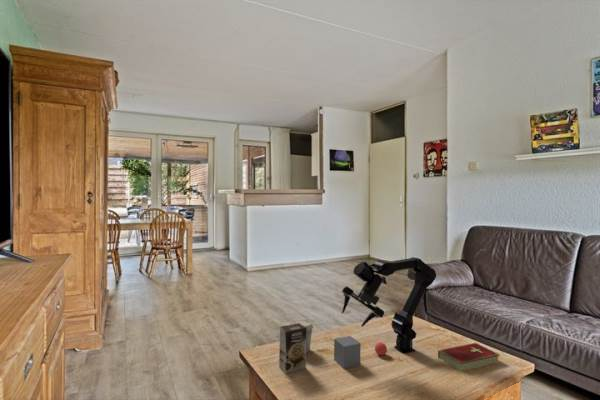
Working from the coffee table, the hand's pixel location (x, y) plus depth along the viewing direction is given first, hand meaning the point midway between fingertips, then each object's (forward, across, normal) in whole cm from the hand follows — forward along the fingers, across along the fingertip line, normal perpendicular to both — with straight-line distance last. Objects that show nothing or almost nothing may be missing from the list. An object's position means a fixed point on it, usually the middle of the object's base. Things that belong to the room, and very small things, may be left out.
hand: (351, 319), depth 137 cm
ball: (+3, +17, +11) cm, 21 cm away
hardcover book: (-13, +50, +11) cm, 53 cm away
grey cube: (+15, +7, +5) cm, 17 cm away
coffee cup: (+22, -10, +14) cm, 28 cm away
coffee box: (+28, -10, -1) cm, 30 cm away
